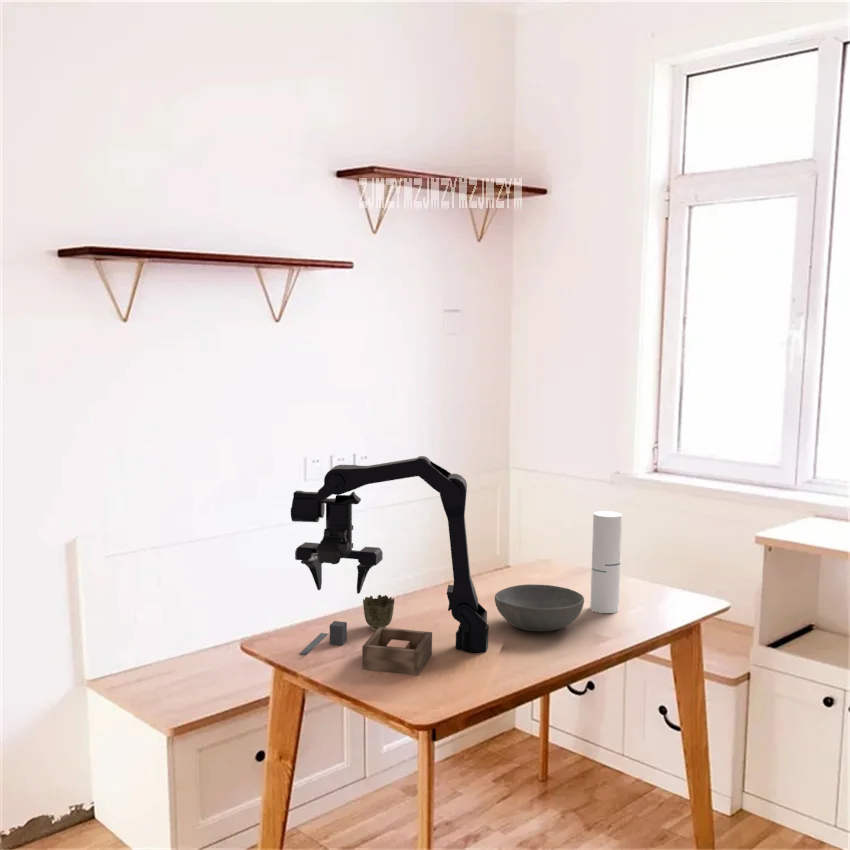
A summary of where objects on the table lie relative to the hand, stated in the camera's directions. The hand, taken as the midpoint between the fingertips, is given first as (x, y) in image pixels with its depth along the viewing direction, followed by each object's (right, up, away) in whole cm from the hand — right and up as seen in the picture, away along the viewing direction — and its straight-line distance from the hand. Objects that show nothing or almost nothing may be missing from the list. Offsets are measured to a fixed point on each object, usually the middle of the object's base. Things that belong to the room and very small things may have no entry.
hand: (338, 591), depth 197 cm
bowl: (+47, -12, +17) cm, 51 cm away
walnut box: (+13, -14, -9) cm, 22 cm away
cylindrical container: (+65, -11, +30) cm, 73 cm away
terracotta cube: (+13, -13, -9) cm, 21 cm away
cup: (+8, -12, +12) cm, 19 cm away
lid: (0, -13, +2) cm, 14 cm away
